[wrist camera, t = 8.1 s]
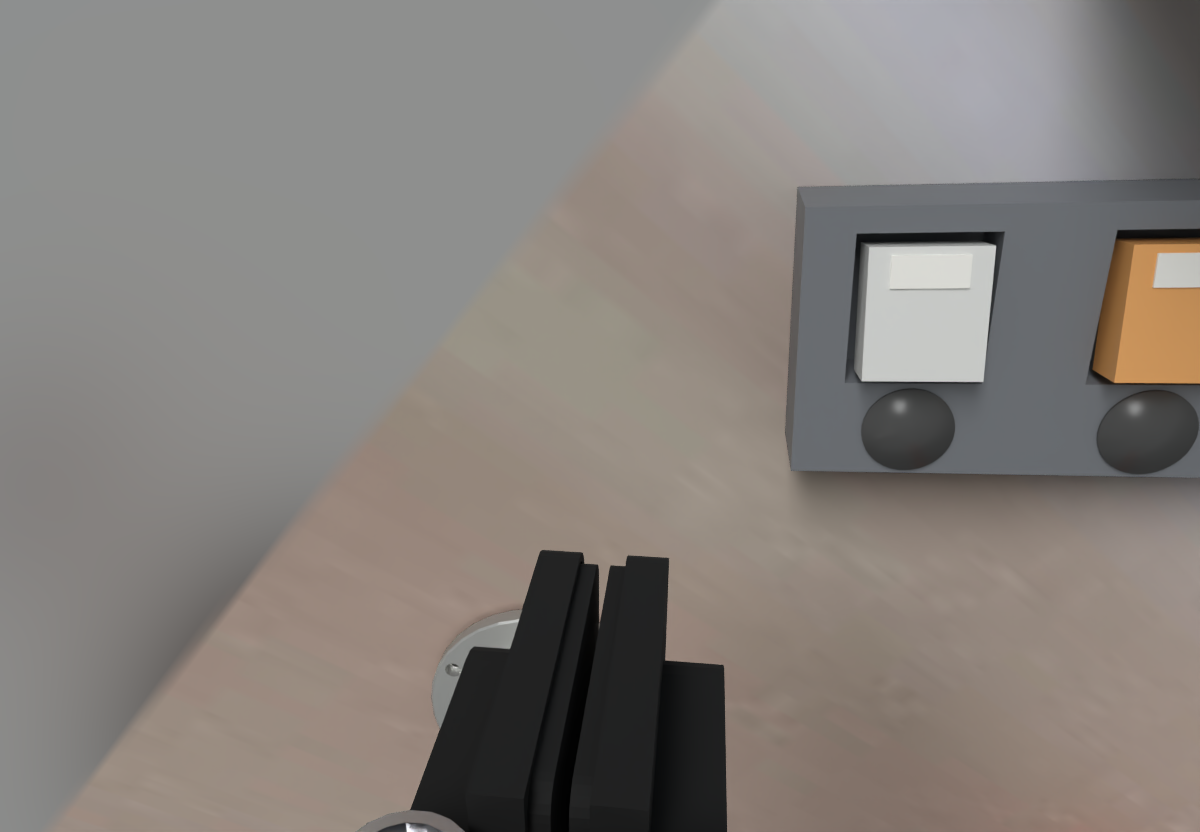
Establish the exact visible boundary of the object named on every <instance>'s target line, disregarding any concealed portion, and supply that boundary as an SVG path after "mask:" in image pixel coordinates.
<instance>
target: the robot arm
mask: <svg viewBox="0 0 1200 832" xmlns="http://www.w3.org/2000/svg"><path fill="white" fill-rule="evenodd" d="M668 573H669V558H660V557H644V556H627V561H626V566H610V570H609V576H608V581H607V587H606V593H605V598H604V604H603V610H602V615H601V621H600V624H599V568H598V565H595V564H584V556H583V553H581V552H565V551H549V550H542V551H541V552H540V554H539V557H538V560H537V563H536V566H535V570H534V573H533V576H532V579H531V583H530V586H529V589H528V592H527V596H526V599H525V602H524V605H523V609H522V610H511V611H508V612H504V613H500V614H496V615H492V616H489V617H487V618H485V619H483V620H481V621H478V622H476V623H474V624H472V625H471V626H470V627H468V628H467V629H466V630H464V631H463V632H461V633H460V634H459V635H458V636H457V637H456V638H455V639H454V640H453V641H452V643H451V644H450V645H449V646H448V647H447V648H446V650H445V652H444V654H443V656H442V658H441V660H440V662H439V665H438V668H437V670H436V673H435V676H434V679H433V682H432V695H431V700H432V706H433V712H434V716H435V719H436V721H437V724H438V726H439V729H440V731H439V733H438V736H437V739H436V742H435V744H434V747H433V750H432V752H431V755H430V758H429V761H428V763H427V766H426V769H425V771H424V774H423V777H422V780H421V782H420V785H419V788H418V790H417V793H416V796H415V799H414V801H413V804H412V807H411V809H410V810H409V811H403V812H397V813H391V814H387V815H385V816H383V817H380V818H378V819H376V820H373V821H371V822H369V823H367V824H366V825H364V826H363V827H361V828H360V829H359V830H357V831H356V832H727V802H726V745H725V689H724V666H723V665H716V664H703V663H690V662H676V661H665V650H666V624H667V598H668Z"/></svg>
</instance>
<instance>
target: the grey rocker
mask: <svg viewBox="0 0 1200 832" xmlns="http://www.w3.org/2000/svg"><path fill="white" fill-rule="evenodd" d="M995 254H996V245H993V244H989V243H986V242H983V241H918V242H861V247H860V265H859V283H858V302H857V320H856V338H855V357H854V370H855V372H856V373H857V375H858V377H859V378H860V380H861V381H899V382H983V380H984V370H985V359H986V349H987V338H988V328H989V317H990V307H991V296H992V286H993V275H994V265H995Z"/></svg>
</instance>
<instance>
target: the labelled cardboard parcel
mask: <svg viewBox="0 0 1200 832" xmlns="http://www.w3.org/2000/svg"><path fill="white" fill-rule="evenodd" d="M1092 370H1094V371H1096V372H1097V373H1099V374H1101V375H1102V376H1104V377H1105V378H1107V379H1109V380H1110V381H1112V382H1114V383H1200V237H1196V238H1119V239H1116V240H1115V244H1114V249H1113V254H1112V259H1111V264H1110V268H1109V273H1108V278H1107V283H1106V288H1105V293H1104V297H1103V302H1102V307H1101V312H1100V318H1099V326H1098V333H1097V340H1096V348H1095V355H1094V362H1093V369H1092Z"/></svg>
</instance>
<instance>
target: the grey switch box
mask: <svg viewBox="0 0 1200 832" xmlns="http://www.w3.org/2000/svg"><path fill="white" fill-rule="evenodd" d="M1196 237H1200V179H1164V180H1116V181H1067V182H1018V183H969V184H921V185H872V186H823V187H798V188H797V208H796V228H795V248H794V267H793V287H792V307H791V327H790V347H789V367H788V386H787V406H786V426H785V435H786V441H787V448H788V455H789V461H790V468H791V471H841V472H898V473H955V474H1012V475H1069V476H1126V477H1183V478H1200V383H1114V382H1112V381H1110V380H1109V379H1107V378H1105V377H1104V376H1102V375H1101V374H1099V373H1097V372H1096V371H1094V370H1092V369H1093V362H1094V355H1095V348H1096V340H1097V333H1098V326H1099V318H1100V312H1101V307H1102V302H1103V297H1104V293H1105V288H1106V283H1107V278H1108V273H1109V268H1110V264H1111V259H1112V254H1113V249H1114V244H1115V240H1116V239H1119V238H1196ZM918 241H983V242H986V243H989V244H993V245H996V254H995V265H994V275H993V286H992V296H991V307H990V317H989V328H988V338H987V349H986V359H985V370H984V380H983V382H899V381H861V380H860V378H859V377H858V375H857V373H856V372H855V370H854V357H855V338H856V320H857V302H858V283H859V265H860V247H861V242H918Z"/></svg>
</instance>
